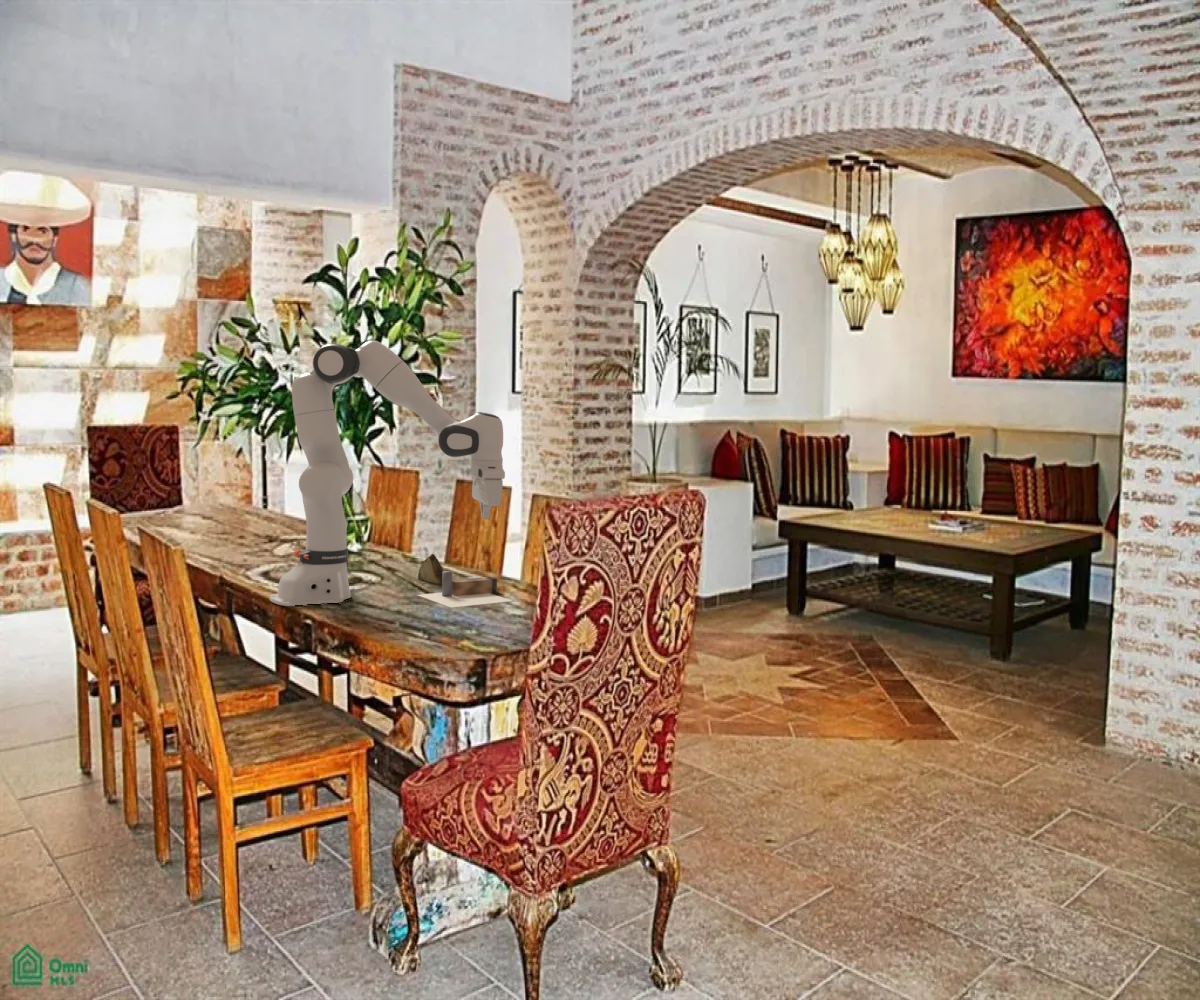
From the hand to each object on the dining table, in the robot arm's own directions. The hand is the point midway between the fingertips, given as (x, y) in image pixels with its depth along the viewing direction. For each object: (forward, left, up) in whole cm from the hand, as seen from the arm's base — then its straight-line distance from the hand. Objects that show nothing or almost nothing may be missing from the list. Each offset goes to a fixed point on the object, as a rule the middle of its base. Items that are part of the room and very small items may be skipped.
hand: (485, 518), depth 320 cm
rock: (0, +30, -24) cm, 39 cm away
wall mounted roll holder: (-5, +2, -24) cm, 24 cm away
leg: (+1, +7, -23) cm, 24 cm away
